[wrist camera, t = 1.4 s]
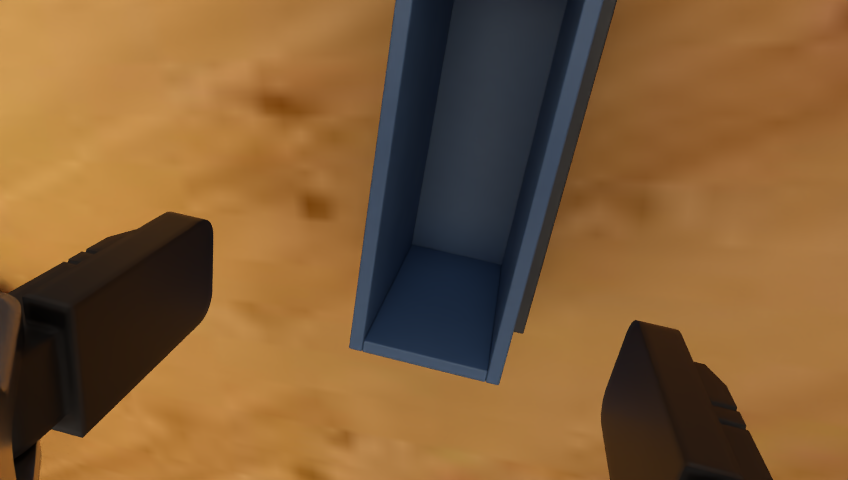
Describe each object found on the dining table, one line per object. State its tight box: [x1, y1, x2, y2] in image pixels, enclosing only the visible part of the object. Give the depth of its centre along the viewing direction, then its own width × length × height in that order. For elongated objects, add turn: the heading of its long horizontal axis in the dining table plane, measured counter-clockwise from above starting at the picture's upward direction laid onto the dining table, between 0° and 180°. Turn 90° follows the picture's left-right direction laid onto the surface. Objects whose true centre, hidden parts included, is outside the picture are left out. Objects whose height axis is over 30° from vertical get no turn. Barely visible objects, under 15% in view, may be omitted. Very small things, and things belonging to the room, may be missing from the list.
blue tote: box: [349, 0, 604, 385], centre depth 22 cm, size 14×6×10 cm, turn 170°
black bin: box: [514, 0, 617, 333], centre depth 25 cm, size 16×8×4 cm, turn 170°
